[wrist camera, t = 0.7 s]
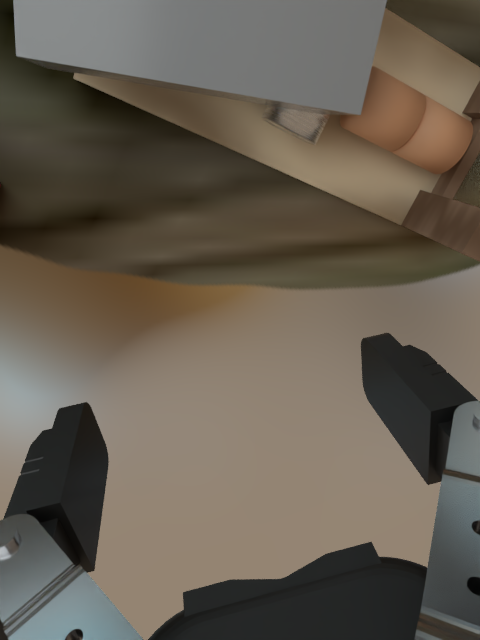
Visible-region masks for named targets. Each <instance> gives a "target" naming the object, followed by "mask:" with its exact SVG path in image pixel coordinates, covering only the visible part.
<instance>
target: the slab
mask: <svg viewBox="0 0 480 640" xmlns="http://www.w3.org/2000/svg"><path fill="white" fill-rule="evenodd" d="M13 1H14V21H15V42H16V56H17V57H20V58H22V59H25V60H27V61H30V62H32V63H35V64H38V65H40V66H43V67H45V68H49V69H55V70H61V71H67V72H73V73H78V74H84V75H90V76H96V77H102V78H108V79H114V80H120V81H126V82H132V83H138V84H144V85H150V86H156V87H162V88H167V89H173V90H179V91H185V92H191V93H197V94H203V95H209V96H215V97H221V98H227V99H233V100H239V101H245V102H250V103H256V104H262V105H268V106H274V107H280V108H286V109H292V110H298V111H304V112H310V113H316V114H326V115H361V112H362V107H363V103H364V99H365V94H366V90H367V85H368V81H369V77H370V72H371V68H372V64H373V59H374V55H375V51H376V46H377V42H378V37H379V33H380V29H381V24H382V20H383V16H384V11H385V7H386V2H387V0H13Z"/></svg>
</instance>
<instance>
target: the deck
mask: <svg viewBox="0 0 480 640" xmlns="http://www.w3.org/2000/svg"><path fill="white" fill-rule="evenodd" d="M372 66H375V67H377V68H379V69H380V70H382V71H384V72H386V73H387V74H389V75H391V76H393V77H394V78H396V79H398V80H400V81H401V82H403V83H405V84H407V85H408V86H410V87H412V88H414V89H415V90H417V91H419V92H420V93H422V94H424V95H426V96H427V97H429V98H431V99H433V100H434V101H436V102H438V103H440V104H441V105H443V106H445V107H447V108H448V109H450V110H452V111H454V112H455V113H457V114H459V115H461V116H462V117H464V118H466V119H468V120H469V121H470V122H471V123H472V125H473V135H472V139H471V142H470V144H469V146H468V148H467V150H466V152H465V153H464V155H463V156H462V157H461V159H460V160H459V161H458V162H457V163H456V164H455V165H454V166H453V167H452V168H451V169H449V170H448V171H446V172H444V173H442V174H433V173H431V172H429V171H427V170H425V169H423V168H421V167H419V166H417V165H415V164H413V163H411V162H409V161H407V160H405V159H403V158H401V157H399V156H397V155H396V154H394V153H392V152H390V151H388V150H386V149H384V148H382V147H380V146H378V145H376V144H374V143H372V142H370V141H368V140H366V139H364V138H362V137H360V136H358V135H356V134H354V133H352V132H350V131H348V130H346V129H344V128H342V127H341V125H340V116H341V115H330V117H329V119H328V121H327V123H326V125H325V127H324V129H323V131H322V133H321V135H320V137H319V139H318V141H317V143H316V145H312V144H309V143H307V142H304V141H302V140H300V139H298V138H295V137H293V136H291V135H289V134H287V133H285V132H284V131H282V130H280V129H278V128H276V127H275V126H273V125H271V124H270V123H268V122H266V121H265V120H264V119H263V118H262V116H263V114H264V112H265V110H266V107H267V105H262V104H256V103H250V102H245V101H239V100H233V99H227V98H221V97H215V96H209V95H203V94H197V93H191V92H185V91H179V90H173V89H167V88H162V87H156V86H150V85H144V84H138V83H132V82H126V81H120V80H114V79H108V78H102V77H96V76H90V75H84V74H78V73H75V74H74V78H73V79H76V80H78V81H80V82H82V83H85V84H87V85H89V86H91V87H94V88H96V89H98V90H100V91H102V92H105V93H107V94H109V95H111V96H114V97H116V98H118V99H120V100H123V101H125V102H127V103H129V104H131V105H134V106H136V107H138V108H140V109H143V110H145V111H147V112H149V113H152V114H154V115H156V116H158V117H160V118H163V119H165V120H167V121H169V122H172V123H174V124H176V125H178V126H181V127H183V128H185V129H187V130H189V131H192V132H194V133H196V134H198V135H201V136H203V137H205V138H207V139H210V140H212V141H214V142H216V143H218V144H221V145H223V146H225V147H227V148H230V149H232V150H234V151H236V152H239V153H241V154H243V155H245V156H247V157H250V158H252V159H254V160H256V161H259V162H261V163H263V164H265V165H268V166H270V167H272V168H274V169H276V170H279V171H281V172H283V173H285V174H288V175H290V176H292V177H294V178H297V179H299V180H301V181H303V182H305V183H308V184H310V185H312V186H314V187H317V188H319V189H321V190H323V191H326V192H328V193H330V194H332V195H334V196H337V197H339V198H341V199H343V200H346V201H348V202H350V203H352V204H355V205H357V206H359V207H361V208H363V209H366V210H368V211H370V212H372V213H375V214H377V215H379V216H381V217H384V218H386V219H388V220H390V221H392V222H395V223H397V224H399V225H401V226H404V227H406V228H408V229H410V230H412V231H414V232H417V233H419V234H421V235H423V236H425V237H427V238H429V239H432V240H434V241H436V242H438V243H440V244H442V245H445V246H447V247H449V248H451V249H453V250H455V251H458V252H460V253H462V254H464V255H466V256H469V257H471V258H473V259H475V260H477V261H480V207H476V206H473V205H470V204H466V203H463V202H460V201H456V200H453V198H454V196H455V195H456V193H457V191H458V189H459V188H460V186H461V184H462V182H463V181H464V179H465V177H466V175H467V174H468V172H469V170H470V168H471V167H472V165H473V163H474V161H475V160H476V158H477V156H478V154H479V153H480V67H479V66H477V65H475V64H474V63H472V62H471V61H469V60H467V59H466V58H464V57H463V56H461V55H459V54H458V53H456V52H455V51H453V50H452V49H450V48H448V47H447V46H445V45H444V44H442V43H440V42H439V41H437V40H436V39H434V38H432V37H431V36H429V35H428V34H426V33H424V32H423V31H421V30H420V29H418V28H417V27H415V26H413V25H412V24H410V23H409V22H407V21H405V20H404V19H402V18H401V17H399V16H397V15H396V14H394V13H393V12H391V11H389V10H388V9H386V8H385V11H384V16H383V20H382V24H381V29H380V33H379V37H378V42H377V46H376V51H375V55H374V59H373V64H372Z"/></svg>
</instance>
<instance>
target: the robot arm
mask: <svg viewBox="0 0 480 640" xmlns="http://www.w3.org/2000/svg"><path fill="white" fill-rule="evenodd" d="M361 356H362V376H363V377H362V378H363V387H364V391H365V394H366V396H367V399H368V401H369V403H370V404H371V405H372V407H373V408H374V410H375V411H376V413H377V414H378V415H379V417H380V418H381V420H382V421H383V422H384V424H385V425H386V427H387V428H388V429H389V431H390V432H391V434H392V435H393V437H394V438H395V439H396V441H397V442H398V443H399V445H400V446H401V448H402V449H403V451H404V452H405V453H406V455H407V456H408V458H409V459H410V461H411V462H412V463H413V465H414V466H415V467H416V469H417V470H418V472H419V473H420V475H421V476H422V477H423V479H424V480H425V482H426V483H427V484H428V485H429V484H433V483H437V482H441V487H440V493H439V499H438V506H437V512H436V518H435V525H434V531H433V537H432V543H431V550H430V556H429V562H428V568H427V567H425V566H422V565H420V564H417V563H414V562H411V561H407V560H403V559H398V558H391V557H379V556H378V554H377V552H376V550H375V548H374V546H373V544H372V542H369V543H365V544H361V545H358V546H354V547H350V548H346V549H343V550H339V551H335V552H331V553H328V554H325V555H323V556H322V557H320V558H318V559H316V560H315V561H313V562H311V563H309V564H308V565H306V566H305V567H303V568H301V569H299V570H297V571H296V572H294V573H292V574H290V575H289V576H287V577H285V578H282V579H262V580H261V579H256V580H255V579H253V580H252V579H250V580H227V581H224V582H220V583H216V584H212V585H209V586H206V587H202V588H198V589H194V590H190V591H186V592H183V599H184V610H183V611H181V612H179V613H177V614H176V615H174V616H173V617H172V618H170V619H169V620H168V621H166V622H165V623H164V624H163V625H162V626H161V627H160V628H158V629H157V630H156V631H155V632H154V634H153V635H152V636H151V637H150V638H149V639H148V640H480V401H478V400H477V399H476V398H475V397H474V396H473V395H472V394H471V393H470V392H469V391H467V390H466V389H465V388H464V387H463V386H462V385H461V384H460V383H459V382H458V381H457V380H455V379H454V378H453V377H452V376H451V375H450V374H449V373H446V370H445V369H444V368H443V367H442V366H441V365H439V364H437V362H436V361H435V360H434V359H433V358H432V357H431V356H430V355H429V354H428V353H426V352H425V351H422V350H420V349H418V348H416V347H413V346H411V345H407V346H402V345H401V344H400V343H399V342H398V341H397V340H396V339H395V338H394V337H393V336H392V335H391V334H389V333H384V334H380V335H376V336H371V337H367V338H363V339H362V342H361ZM107 471H108V452H107V447H106V444H105V441H104V439H103V436H102V434H101V431H100V429H99V426H98V424H97V421H96V419H95V416H94V414H93V411H92V409H91V407H90V405H89V404H88V403H87V402H85V403H81V404H76V405H72V406H68V407H64V408H60V409H59V410H58V412H57V415H56V418H55V421H54V425H53V428H52V429H49V430H44V431H42V433H41V434H40V435H39V436H38V437H37V439H36V440H35V441H34V442H33V443H32V444H31V446H30V448H29V451H28V454H27V457H26V459H25V463H24V465H23V467H22V470H21V476H19V478H18V481H17V484H16V487H15V489H14V492H13V494H12V497H11V500H10V503H9V506H8V508H7V511H6V513H5V516H4V519H3V520H1V521H0V640H143V639H142V637H141V636H140V635H139V634H138V633H137V631H136V630H135V629H134V628H133V627H132V626H131V624H130V623H129V622H128V621H127V620H126V619H125V617H124V616H123V615H122V614H121V613H120V611H119V610H118V609H117V608H116V607H115V605H114V604H113V603H112V602H111V601H110V600H109V598H108V597H107V596H106V595H105V594H104V592H103V591H102V590H101V589H100V588H99V587H98V585H97V584H96V583H95V582H94V581H93V579H92V578H91V577H90V576H89V575H88V574H87V572H91V571H94V569H95V561H96V554H97V546H98V539H99V531H100V524H101V516H102V508H103V501H104V494H105V486H106V479H107Z"/></svg>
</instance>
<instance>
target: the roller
mask: <svg viewBox="0 0 480 640" xmlns="http://www.w3.org/2000/svg"><path fill="white" fill-rule="evenodd" d="M340 125H341V127H342V128H344V129H346V130H348V131H350V132H352V133H354V134H356V135H358V136H360V137H362V138H364V139H366V140H368V141H370V142H372V143H374V144H376V145H378V146H380V147H382V148H384V149H386V150H388V151H390V152H392V153H394V154H396V155H397V156H399V157H401V158H403V159H405V160H407V161H409V162H411V163H413V164H415V165H417V166H419V167H421V168H423V169H425V170H427V171H429V172H431V173H433V174H442V173H444V172H446V171H448V170H449V169H451V168H452V167H453V166H454V165H455V164H456V163H457V162H458V161H459V160H460V159H461V157H462V156H463V155H464V153H465V152H466V150H467V148H468V146H469V144H470V142H471V139H472V135H473V125H472V123H471V122H470V121H469V120H468V119H466V118H464V117H462V116H461V115H459V114H457V113H455V112H454V111H452V110H450V109H448V108H447V107H445V106H443V105H441V104H440V103H438V102H436V101H434V100H433V99H431V98H429V97H427V96H426V95H424V94H422V93H420V92H419V91H417V90H415V89H414V88H412V87H410V86H408V85H407V84H405V83H403V82H401V81H400V80H398V79H396V78H394V77H393V76H391V75H389V74H387V73H386V72H384V71H382V70H380V69H379V68H377V67H375V66H372V68H371V72H370V77H369V81H368V85H367V90H366V94H365V99H364V103H363V107H362V112H361V115H341V116H340Z"/></svg>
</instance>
